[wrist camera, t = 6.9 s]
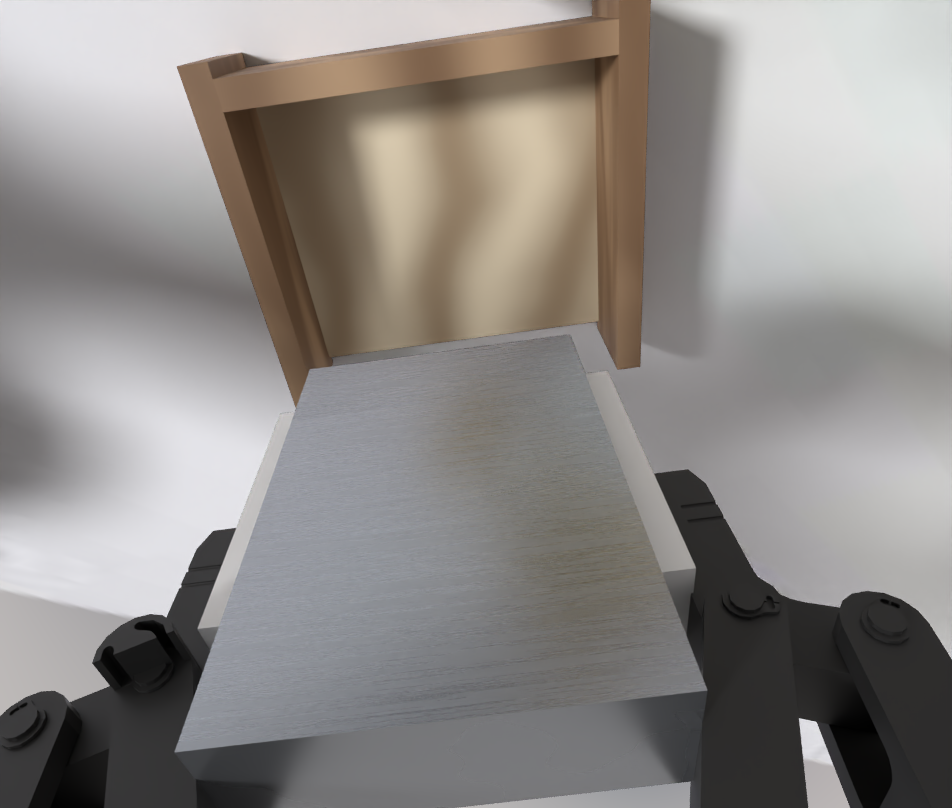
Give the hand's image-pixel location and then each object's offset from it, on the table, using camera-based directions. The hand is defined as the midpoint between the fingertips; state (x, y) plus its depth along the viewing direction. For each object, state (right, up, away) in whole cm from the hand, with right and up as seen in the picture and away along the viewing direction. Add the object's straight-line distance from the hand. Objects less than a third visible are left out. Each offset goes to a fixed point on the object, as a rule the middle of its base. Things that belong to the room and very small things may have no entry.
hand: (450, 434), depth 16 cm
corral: (-1, +11, +16) cm, 19 cm away
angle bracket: (0, -2, +2) cm, 3 cm away
